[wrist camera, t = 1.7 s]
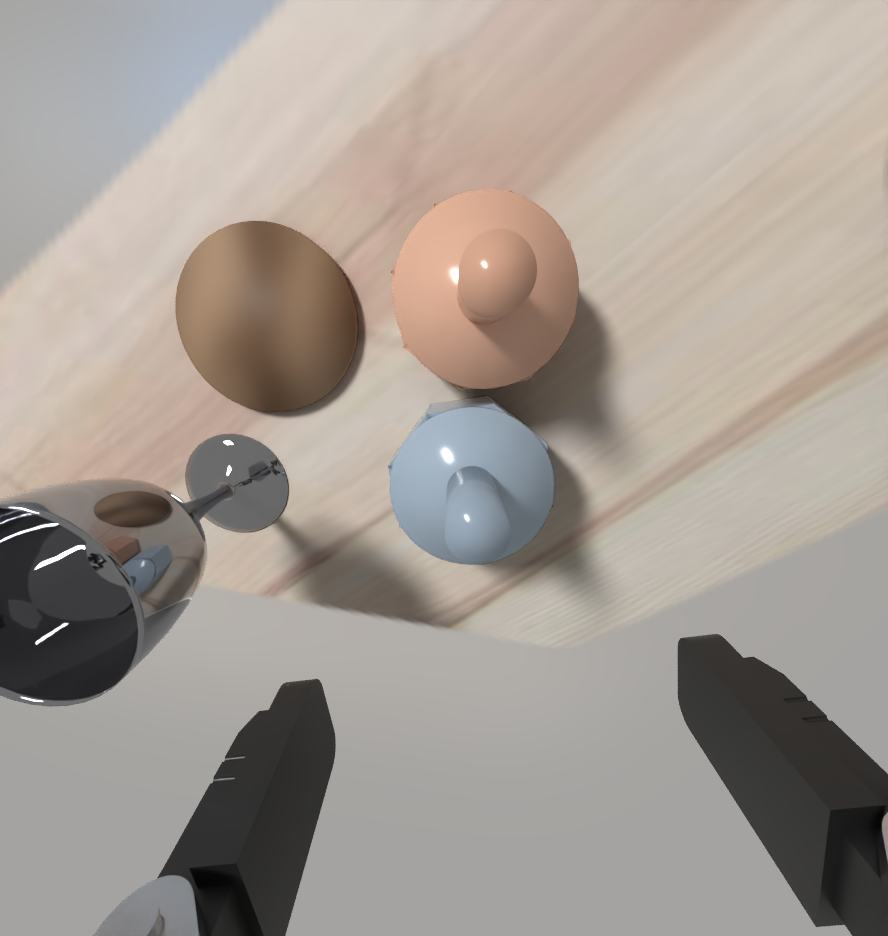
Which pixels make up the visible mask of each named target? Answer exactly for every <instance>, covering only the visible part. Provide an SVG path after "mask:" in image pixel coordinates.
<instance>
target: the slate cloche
mask: <svg viewBox="0 0 888 936" xmlns="http://www.w3.org/2000/svg"><path fill="white" fill-rule="evenodd" d="M547 445H548V444H547V443H546V442H545V441H544V440H543V439H542V438H541V437H540V436H539V435H537V434H536V433H535V432H534V431H533V430H532V429H530V428H529V427H528V426H526V425H525V424H524V423H522V422H521V421H520V420H518V419H517V418H516V417H514V416H513V415H512V414H511V413H509V412H508V411H507V410H505V409H504V408H503V407H501V406H500V405H499V404H497V403H496V402H495V401H494V400H492V399H491V398H490V397H489V396H484V397H477V398H471V399H464V400H457V401H451V402H444V403H437V404H430V406H429V407H428V409H427V410H426V412H425V413H424V414H423V416H422V417H421V418H420V420H419V421H418V423H417V424H416V425H415V427H414V428H413V429H412V431H411V432H410V434H409V435H408V436H407V438H406V439H405V440H404V442H403V443H402V445H401V446H400V447H399V449H398V450H397V451H396V453H395V455H394V457H393V458H392V460H391V462H390V464H389V465H388V468H389V473H390V498H391V503H392V507H393V511H394V513H395V516H396V518H397V520H398V522H399V527H401V528H402V529H403V530H404V532H405V533H406V534H407V535H408V537H409V538H410V539H411V540H412V541H413V542H414V543H415V544H416V545H418V546H419V547H420V548H422V549H423V550H424V551H426V552H428V553H429V554H431V555H433V556H435V557H437V558H440V559H442V560H446V561H449V562H453V563H459V564H471V565H472V564H475V565H480V564H487V563H490V562H494V561H497V560H500V559H503V558H505V557H507V556H509V555H511V554H513V553H515V552H516V551H518V550H520V549H521V548H522V547H524V546H525V545H526V544H527V543H529V542H530V541H531V540H532V539H533V538H534V536H535V535H536V534H537V533H538V531H539V530H540V529H541V528H542V526H543V524H544V522H545V521H546V519H547V517H548V514H549V512H550V509H551V508H552V507H553V505H552V502H553V496H554V475H553V468H552V465H551V462H550V459H549V456H548V448H547Z"/></svg>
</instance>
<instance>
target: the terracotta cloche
mask: <svg viewBox="0 0 888 936" xmlns="http://www.w3.org/2000/svg"><path fill="white" fill-rule="evenodd" d="M391 274H392V280H393V304H394V311H395V316H396V320H397V323H398V326H399V329H400V331H401V334H402V340H403V346H404V348H405V349H406V350H408V351H409V352H410V353H412V354H413V355H414V356H416V358H417V359H418V360H419V361H420V362H421V363H422V364H423V365H424V366H425V367H426V368H428V369H429V370H430V371H431V372H433V373H434V374H436V375H437V376H439V377H440V378H442V379H444V380H446V381H449V382H450V383H451V384H453V385H454V386H455V387H457V388H458V389H459V390H466V389H472V388H477V389H489V388H498V387H502V386H507V385H510V384H513V383H516V382H519V381H526V380H530V379H531V377H532V376H533V375H534V373H535V372H536V371H537V370H539V369H540V368H541V367H542V366H543V365H544V364H546V363H547V362H548V361H549V360H550V359H551V357H552V356H553V355H554V354H555V353H556V352H557V350H558V349H559V347H560V346H561V344H562V343H563V342H564V340H565V338H566V336H567V334H568V332H569V330H570V327H571V326H572V325H573V323H574V322H575V321H576V318H575V312H576V308H577V302H578V294H579V278H578V270H577V265H576V261H575V257H574V253H573V251H572V248H571V241H569V240H568V239H567V237H566V236H565V234H564V232H563V230H562V229H561V227H560V226H559V225H558V224H557V222H556V221H555V220H554V219H553V218H552V217H551V216H550V215H549V214H548V213H547V212H546V211H545V210H544V209H543V208H541V207H540V206H539V205H537V204H536V203H535V202H533V201H531V200H529V199H527V198H525V197H523V196H521V195H518V194H515V193H514V192H512V191H503V190H494V189H482V190H473V191H469V192H465V193H461V194H458V195H456V196H454V197H451V198H449V199H447V200H445V201H444V202H442V203H438V204H434V206H433V207H432V209H431V210H430V211H429V212H428V213H427V214H426V215H425V216H424V217H423V218H422V219H421V220H420V221H419V222H418V223H417V224H416V226H415V227H414V228H413V230H412V231H411V233H410V234H409V236H408V238H407V239H406V241H405V243H404V245H403V247H402V249H401V252H400V254H399V257H398V260H397V263H396V265H395V266H394V268H393V269H392V271H391Z"/></svg>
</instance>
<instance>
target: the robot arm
mask: <svg viewBox="0 0 888 936" xmlns="http://www.w3.org/2000/svg"><path fill="white" fill-rule="evenodd" d="M678 700H679V705H680V708H681V712H682V714H683V717H684V720H685V722H686V724H687V726H688V728H689V729H690V731H691V732H692V734H693V735H694V737H695V739H696V740H697V742H698V743H699V745H700V747H701V748H702V749H703V751H704V753H705V754H706V756H707V757H708V759H709V761H710V762H711V764H712V765H713V767H714V768H715V770H716V772H717V773H718V775H719V776H720V778H721V779H722V781H723V782H724V784H725V785H726V787H727V789H728V790H729V792H730V793H731V795H732V796H733V798H734V800H735V801H736V803H737V804H738V806H739V807H740V809H741V810H742V812H743V814H744V815H745V817H746V818H747V820H748V821H749V823H750V825H751V826H752V828H753V829H754V831H755V832H756V834H757V835H758V837H759V839H760V840H761V842H762V843H763V845H764V846H765V848H766V849H767V851H768V853H769V854H770V856H771V857H772V859H773V860H774V862H775V864H776V865H777V867H778V868H779V870H780V871H781V873H782V874H783V875H784V878H785V879H786V881H787V882H788V884H789V885H790V887H791V888H792V890H793V892H794V893H795V895H796V896H797V898H798V899H799V901H800V902H801V904H802V906H803V907H804V909H805V910H806V912H807V913H808V915H809V917H810V918H811V920H812V921H813V923H814V924H815V926H816V927H820V926H831V925H832V926H833V925H845V926H846V927H847V929H848V930H849V931H850V933H851V934H852V936H888V774H887V773H886V772H885V771H884V770H883V769H882V768H881V767H880V766H879V765H878V764H877V763H876V762H874V760H873V759H871V758H870V757H869V756H868V755H867V754H866V753H865V752H864V751H863V750H862V749H861V748H860V747H859V746H858V745H857V744H856V743H855V742H854V741H853V740H852V739H851V738H850V737H848V736H847V735H846V734H845V733H844V732H843V731H842V730H841V729H840V728H839V727H838V726H837V725H836V724H835V723H834V722H833V721H829V720H828V719H827V716H826V715H825V714H824V713H823V712H822V711H821V710H820V709H819V708H818V707H817V706H816V705H815V704H814V703H813V702H812V701H808V700H807V697H806V695H805V694H804V693H802V692H801V691H800V690H799V689H798V688H797V687H796V686H795V685H794V684H793V683H792V682H791V681H790V680H789V679H788V678H787V677H786V676H785V675H784V674H782V673H781V672H779V671H777V670H775V669H774V668H772V667H770V666H769V665H767V664H765V663H763V662H762V661H760V660H758V659H756V658H755V657H748V658H743V657H742V656H741V655H740V654H739V653H738V652H737V651H736V650H735V649H734V648H733V647H732V646H731V645H730V644H729V643H728V642H727V641H726V640H725V639H724V638H723V637H722V636H720V635H718V634H712V635H705V636H704V635H703V636H696V637H687V638H681V639H680V640H679V642H678ZM334 758H335V732H334V728H333V724H332V721H331V717H330V713H329V709H328V706H327V702H326V698H325V694H324V691H323V687H322V684H321V682H320V681H319V680H318V679H313V680H305V681H296V682H287V683H284V684H283V685H282V686H281V688H280V689H279V691H278V693H277V695H276V697H275V699H274V701H273V703H272V705H271V707H270V709H269V710H266V711H259V712H258V713H257V714H256V715H255V716H254V717H253V718H252V719H251V720H250V721H249V722H248V723H247V724H246V725H245V726H244V728H243V729H242V730H241V731H240V732H239V733H238V735H237V736H236V739H235V740H234V742H233V744H232V745H231V747H230V749H229V751H228V753H227V755H226V756H225V761H224V762H222V764H221V765H220V767H219V769H218V771H217V773H216V774H215V776H214V780H213V783H211V784H210V785H209V787H208V789H207V791H206V792H205V794H204V796H203V798H202V800H201V801H200V803H199V805H198V807H197V808H196V810H195V812H194V814H193V816H192V818H191V819H190V821H189V823H188V825H187V826H186V828H185V830H184V832H183V834H182V836H181V837H180V839H179V841H178V843H177V844H176V846H175V848H174V850H173V852H172V854H171V855H170V857H169V859H168V861H167V862H166V864H165V866H164V868H163V870H162V871H161V873H160V874H159V876H158V878H157V879H155V880H153V881H151V882H149V883H147V884H145V885H143V886H142V887H140V888H139V889H137V890H136V891H134V892H133V893H132V894H130V895H129V896H128V897H127V898H126V899H124V900H123V901H122V902H121V903H120V904H119V905H118V906H117V907H116V908H115V909H114V910H113V911H112V912H111V913H110V914H109V915H108V917H107V918H106V919H105V920H104V921H103V923H102V924H101V925H100V927H99V928H98V930H97V931H96V933H95V934H94V935H93V936H285V934H286V931H287V927H288V924H289V920H290V917H291V913H292V909H293V906H294V902H295V899H296V895H297V892H298V888H299V885H300V881H301V878H302V874H303V870H304V867H305V863H306V860H307V856H308V853H309V849H310V846H311V842H312V838H313V835H314V831H315V828H316V824H317V820H318V817H319V814H320V810H321V807H322V803H323V799H324V796H325V792H326V789H327V785H328V782H329V778H330V774H331V771H332V768H333V764H334Z"/></svg>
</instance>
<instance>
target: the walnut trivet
mask: <svg viewBox="0 0 888 936" xmlns="http://www.w3.org/2000/svg"><path fill="white" fill-rule="evenodd" d="M176 319H177V325H178V330H179V334H180V337H181V340H182V343H183V346H184V348H185V350H186V352H187V354H188V356H189V358H190V360H191V361H192V363H193V365H194V366H195V368H196V369H197V370H198V372H199V373H200V374H201V375H202V377H203V378H204V379H205V380H206V381H207V382H208V383H209V384H210V385H211V386H212V387H213V388H215V389H216V390H217V391H218V392H220V393H221V394H222V395H224V396H225V397H227V398H229V399H230V400H232V401H234V402H236V403H238V404H241V405H243V406H246V407H249V408H252V409H256V410H261V411H270V412H281V411H290V410H294V409H299V408H301V407H304V406H307V405H309V404H312V403H314V402H316V401H318V400H319V399H321V398H322V397H324V396H325V395H327V394H328V393H329V392H330V391H331V390H332V389H333V388H334V387H335V386H336V385H337V384H338V383H339V382H340V380H341V379H342V378H343V376H344V375H345V373H346V371H347V369H348V368H349V366H350V363H351V361H352V358H353V356H354V352H355V348H356V343H357V334H358V320H357V312H356V306H355V302H354V298H353V295H352V292H351V290H350V287H349V285H348V283H347V281H346V279H345V277H344V275H343V273H342V272H341V270H340V269H339V267H338V266H337V265H336V263H335V262H334V261H333V260H332V258H331V257H330V256H329V255H328V254H327V253H326V252H325V251H324V250H323V249H322V248H320V247H319V246H318V245H317V244H316V243H315V242H313V241H312V240H310V239H309V238H308V237H306V236H305V235H303V234H301V233H299V232H297V231H295V230H293V229H291V228H289V227H286V226H283V225H280V224H276V223H271V222H266V221H248V222H240V223H236V224H232V225H229V226H227V227H224V228H222V229H220V230H218V231H216V232H215V233H213V234H211V235H210V236H208V237H207V238H206V239H205V240H204V241H203V242H201V243H200V244H199V245H198V247H197V248H196V249H195V250H194V251H193V253H192V254H191V255H190V257H189V259H188V260H187V262H186V264H185V266H184V268H183V271H182V273H181V276H180V279H179V283H178V286H177V293H176Z"/></svg>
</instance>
